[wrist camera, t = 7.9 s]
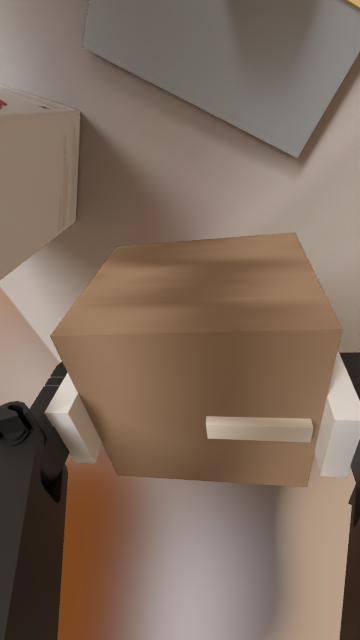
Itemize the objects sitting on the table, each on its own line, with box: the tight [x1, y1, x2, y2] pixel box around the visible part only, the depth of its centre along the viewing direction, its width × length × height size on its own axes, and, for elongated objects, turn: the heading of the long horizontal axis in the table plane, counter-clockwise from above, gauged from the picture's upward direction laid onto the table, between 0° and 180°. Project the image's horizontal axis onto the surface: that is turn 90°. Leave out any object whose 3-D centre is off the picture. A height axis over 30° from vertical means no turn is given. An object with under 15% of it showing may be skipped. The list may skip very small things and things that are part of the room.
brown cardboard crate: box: [50, 233, 342, 487], centre depth 12 cm, size 7×7×6 cm
